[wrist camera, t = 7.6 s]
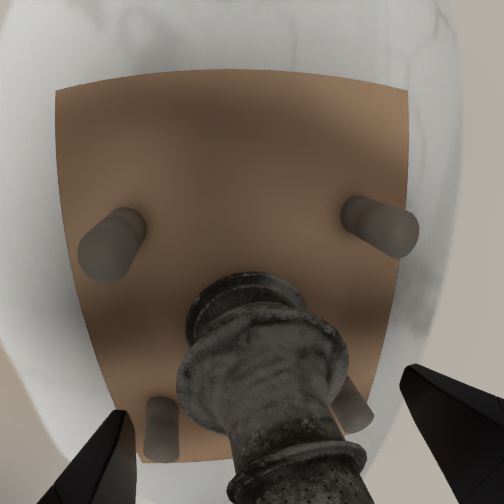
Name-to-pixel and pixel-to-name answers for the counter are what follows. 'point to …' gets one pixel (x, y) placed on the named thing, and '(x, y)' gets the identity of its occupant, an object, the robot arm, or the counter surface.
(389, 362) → the counter surface
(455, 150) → the counter surface
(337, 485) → the dark grey turned piece
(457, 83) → the counter surface
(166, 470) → the counter surface
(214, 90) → the peg board
